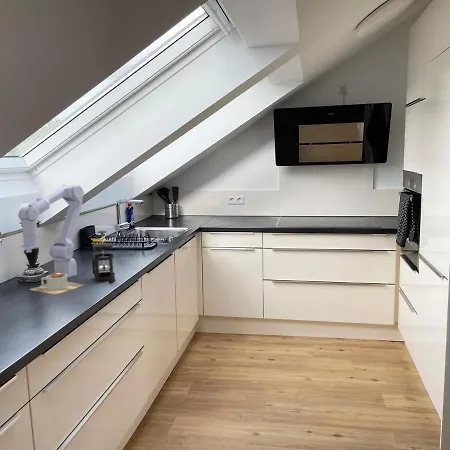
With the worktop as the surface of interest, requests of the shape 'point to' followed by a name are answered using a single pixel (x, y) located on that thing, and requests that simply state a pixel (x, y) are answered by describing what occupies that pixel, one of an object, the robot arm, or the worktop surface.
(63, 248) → the robot arm
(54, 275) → the plunger
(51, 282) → the faceted mug
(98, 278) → the french press
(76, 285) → the serving board
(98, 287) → the worktop surface
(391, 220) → the worktop surface
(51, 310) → the worktop surface
